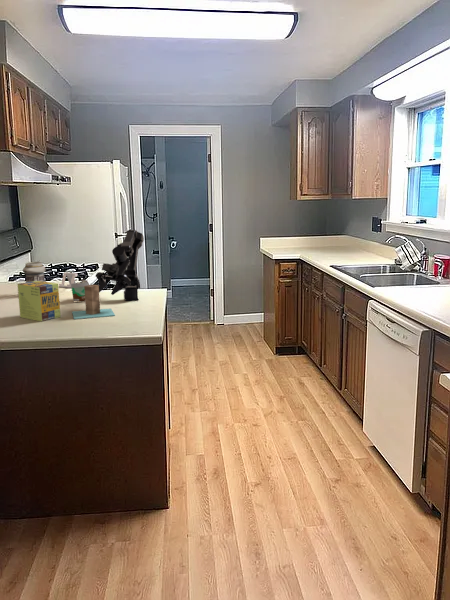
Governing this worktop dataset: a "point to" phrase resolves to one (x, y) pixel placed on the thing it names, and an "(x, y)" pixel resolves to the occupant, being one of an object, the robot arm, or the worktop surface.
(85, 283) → the food container
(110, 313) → the teal mat
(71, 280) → the portable electronic device stand
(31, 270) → the apothecary jar
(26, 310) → the protein box
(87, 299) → the walnut block
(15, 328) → the worktop surface
